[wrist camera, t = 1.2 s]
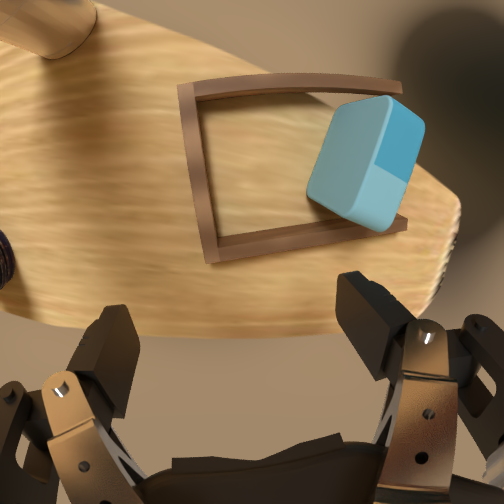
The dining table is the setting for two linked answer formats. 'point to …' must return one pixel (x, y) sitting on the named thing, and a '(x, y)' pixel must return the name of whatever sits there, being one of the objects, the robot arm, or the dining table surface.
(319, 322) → the dining table surface
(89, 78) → the dining table surface
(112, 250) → the dining table surface
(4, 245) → the storage jar
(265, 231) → the walnut frame
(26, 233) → the dining table surface
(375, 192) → the data package
